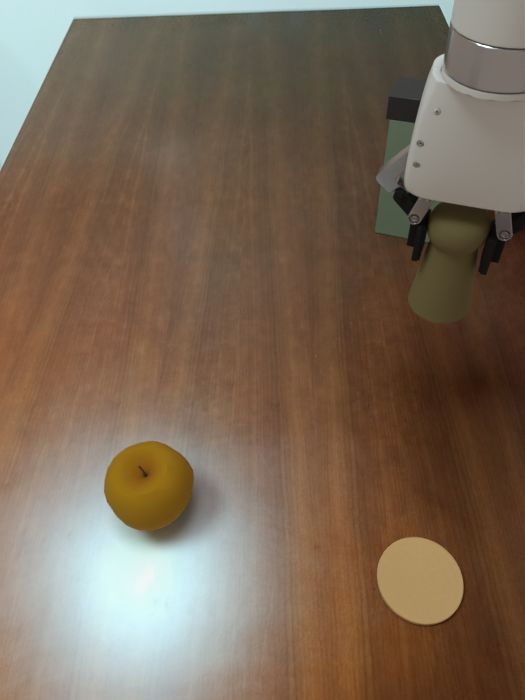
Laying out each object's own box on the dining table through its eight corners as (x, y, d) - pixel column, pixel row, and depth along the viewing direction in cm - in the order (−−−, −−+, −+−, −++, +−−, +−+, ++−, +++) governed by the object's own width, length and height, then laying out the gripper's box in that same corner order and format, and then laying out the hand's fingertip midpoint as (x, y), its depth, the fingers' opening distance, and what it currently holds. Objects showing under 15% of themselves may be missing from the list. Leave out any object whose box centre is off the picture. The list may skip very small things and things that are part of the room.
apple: (203, 468, 64) (192, 427, 57) (195, 546, 58) (181, 511, 51) (126, 467, 64) (106, 426, 57) (111, 544, 59) (86, 509, 52)
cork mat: (467, 553, 57) (469, 551, 56) (455, 638, 52) (457, 637, 52) (386, 528, 59) (386, 526, 58) (367, 608, 54) (368, 606, 54)
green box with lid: (465, 226, 86) (506, 88, 69) (460, 251, 83) (501, 112, 66) (378, 211, 89) (397, 75, 72) (370, 234, 86) (387, 98, 69)
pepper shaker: (477, 288, 58) (507, 196, 49) (462, 331, 54) (491, 240, 46) (417, 272, 60) (436, 181, 51) (399, 312, 56) (416, 222, 48)
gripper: (645, 40, 38) (553, 249, 52) (388, 17, 43) (367, 215, 57) (648, 97, 34) (547, 307, 48) (362, 64, 38) (347, 266, 53)
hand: (450, 256), depth 52 cm, fingers closed on pepper shaker, 5 cm apart
